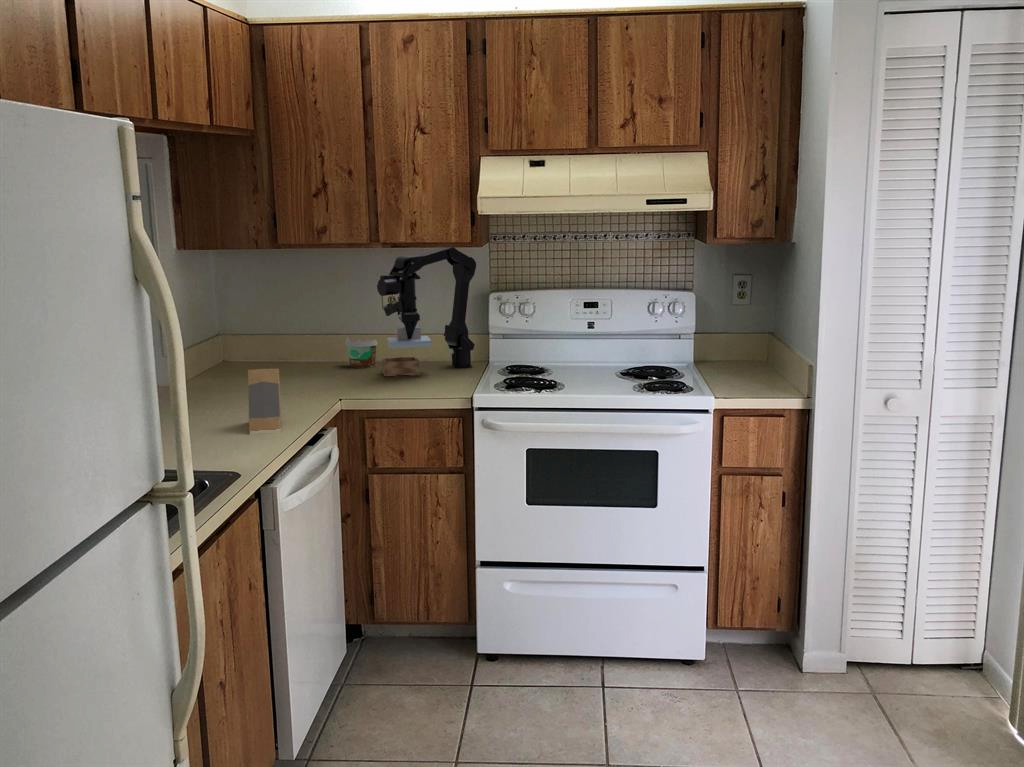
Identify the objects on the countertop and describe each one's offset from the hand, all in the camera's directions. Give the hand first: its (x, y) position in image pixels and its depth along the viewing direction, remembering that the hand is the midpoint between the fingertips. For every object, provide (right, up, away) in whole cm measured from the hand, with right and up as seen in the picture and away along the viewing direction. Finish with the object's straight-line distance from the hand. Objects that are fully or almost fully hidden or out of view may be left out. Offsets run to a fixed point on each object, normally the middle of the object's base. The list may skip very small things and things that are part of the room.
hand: (409, 338), depth 319 cm
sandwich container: (-32, -28, -65) cm, 78 cm away
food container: (-20, -10, +19) cm, 29 cm away
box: (-4, -12, +5) cm, 14 cm away
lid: (0, -2, 0) cm, 2 cm away
